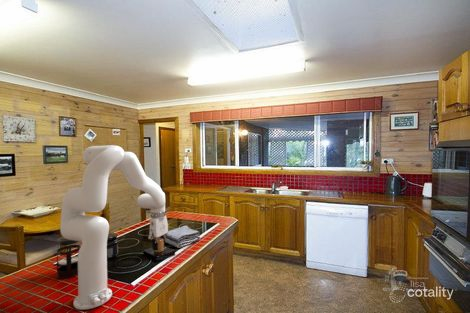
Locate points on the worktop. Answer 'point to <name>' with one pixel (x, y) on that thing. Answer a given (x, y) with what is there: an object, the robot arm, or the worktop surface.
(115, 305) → the worktop surface
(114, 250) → the supplement container
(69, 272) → the french press
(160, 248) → the oak knob
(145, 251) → the panel
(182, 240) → the towel
